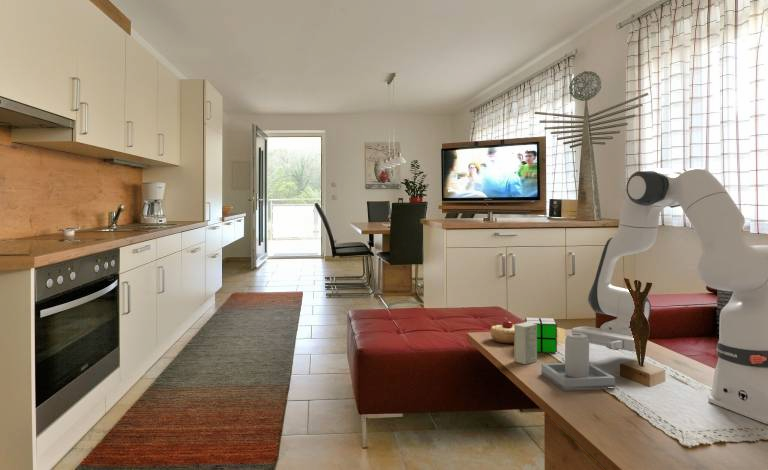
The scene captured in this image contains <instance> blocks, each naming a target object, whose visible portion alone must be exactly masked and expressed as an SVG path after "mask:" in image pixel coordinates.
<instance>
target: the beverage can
mask: <svg viewBox="0 0 768 470" xmlns="http://www.w3.org/2000/svg"><path fill="white" fill-rule="evenodd" d="M587 337H588V335H586V334H582V333H571V332H569V333H566V337H565V339H564V344H565V345H564V363H565V374H566V375H568V377H570V378H582V377H588V376H589V363H590V343H589V339H588V338H587Z"/></svg>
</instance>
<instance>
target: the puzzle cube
mask: <svg viewBox="0 0 768 470" xmlns="http://www.w3.org/2000/svg"><path fill="white" fill-rule="evenodd" d="M524 322H529V323H533V324H537V353H545V354H547V353H548V352H557V353H558V346H557V345H558V341H557V340H558V339H557V338H558V334H557V333H558V332H557V331H558V324H557V323H556V321H555V319H554V318H548V317H547V318H546V317H545V318H544V317H540V318H539V317H525V319H524ZM548 354H549V353H548Z"/></svg>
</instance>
